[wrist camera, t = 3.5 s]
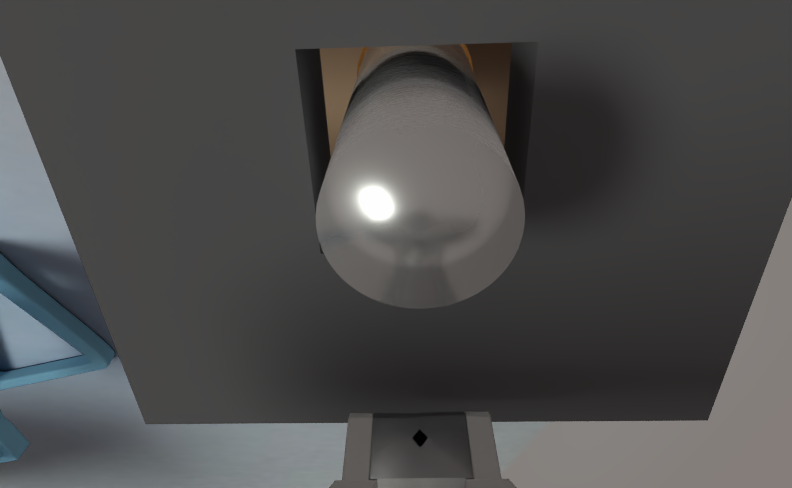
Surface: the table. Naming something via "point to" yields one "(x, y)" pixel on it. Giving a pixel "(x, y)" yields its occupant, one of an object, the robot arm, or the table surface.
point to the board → (487, 70)
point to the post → (419, 182)
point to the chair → (3, 437)
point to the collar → (305, 171)
